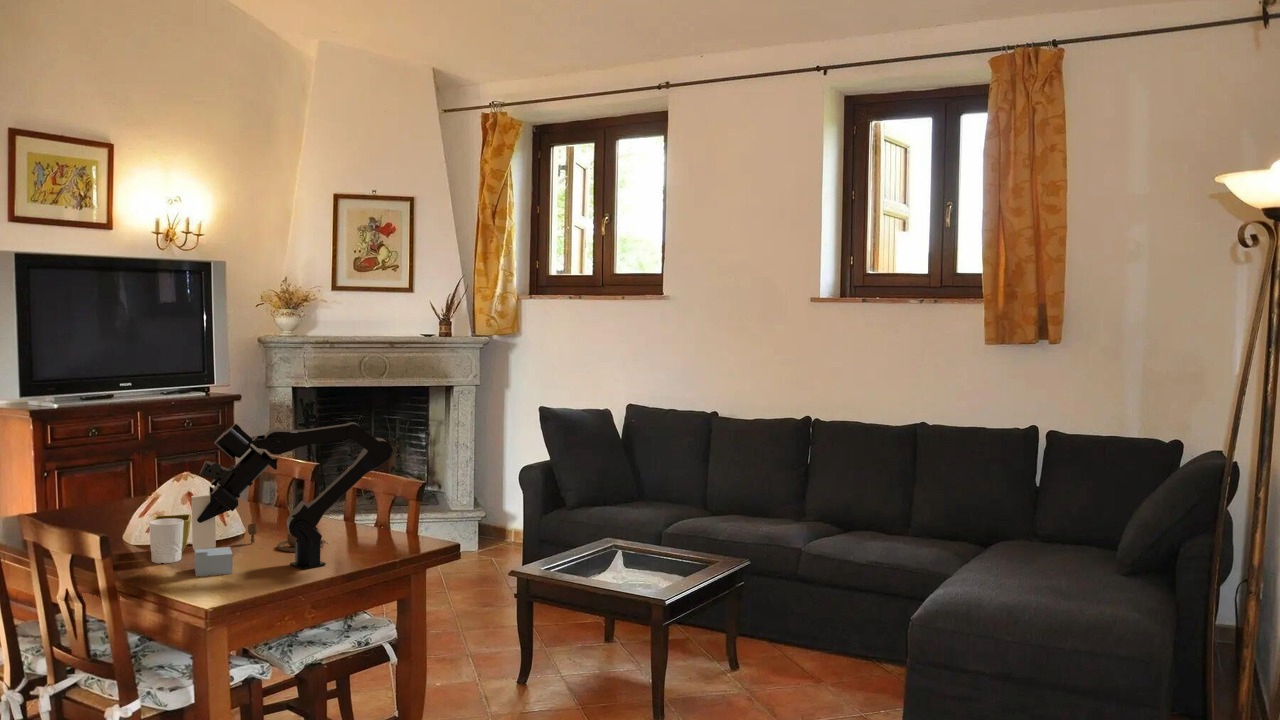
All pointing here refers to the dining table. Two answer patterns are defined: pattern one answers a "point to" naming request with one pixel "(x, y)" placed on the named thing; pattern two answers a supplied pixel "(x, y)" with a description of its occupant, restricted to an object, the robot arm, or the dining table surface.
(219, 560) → the base block
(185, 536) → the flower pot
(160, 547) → the white cup
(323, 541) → the place setting
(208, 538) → the pillar
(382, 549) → the dining table surface
